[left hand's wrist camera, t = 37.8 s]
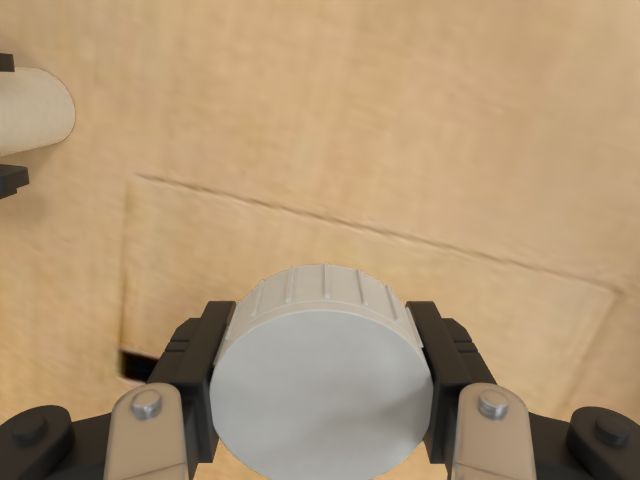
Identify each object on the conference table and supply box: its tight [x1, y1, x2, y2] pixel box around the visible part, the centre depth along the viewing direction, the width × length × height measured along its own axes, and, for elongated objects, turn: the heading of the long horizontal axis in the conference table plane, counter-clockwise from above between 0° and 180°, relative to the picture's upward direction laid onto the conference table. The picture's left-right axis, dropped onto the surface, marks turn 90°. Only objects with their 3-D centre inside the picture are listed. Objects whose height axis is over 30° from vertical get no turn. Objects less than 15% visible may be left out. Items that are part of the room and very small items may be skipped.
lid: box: [209, 263, 434, 480], centre depth 10 cm, size 5×5×2 cm
